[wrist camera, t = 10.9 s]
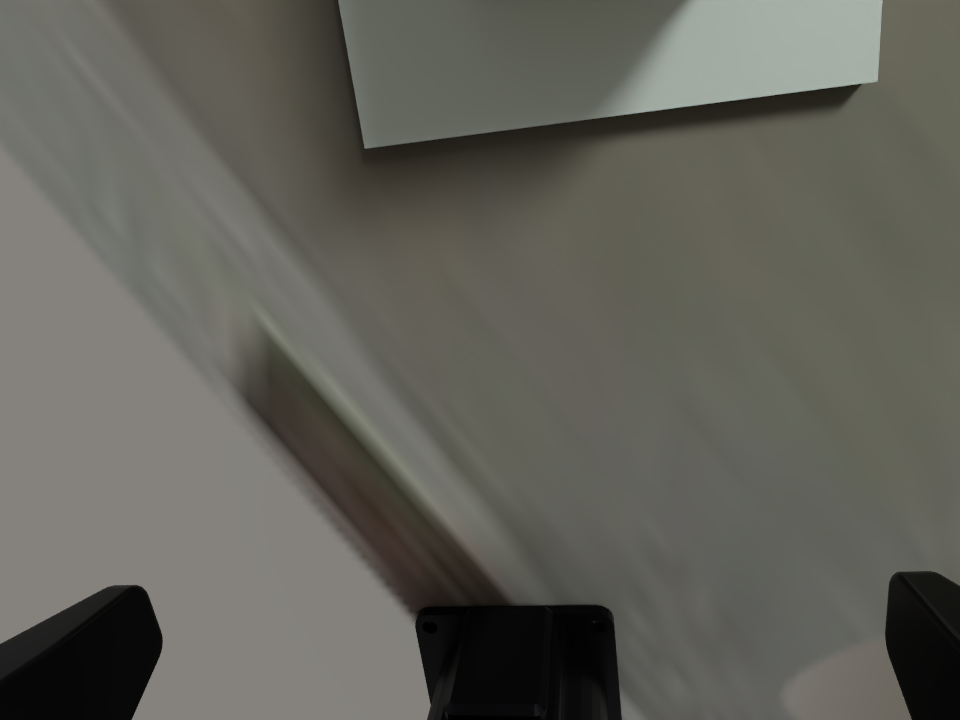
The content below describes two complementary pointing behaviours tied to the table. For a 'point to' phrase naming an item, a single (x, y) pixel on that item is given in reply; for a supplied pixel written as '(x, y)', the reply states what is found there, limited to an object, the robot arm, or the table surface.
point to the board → (589, 58)
